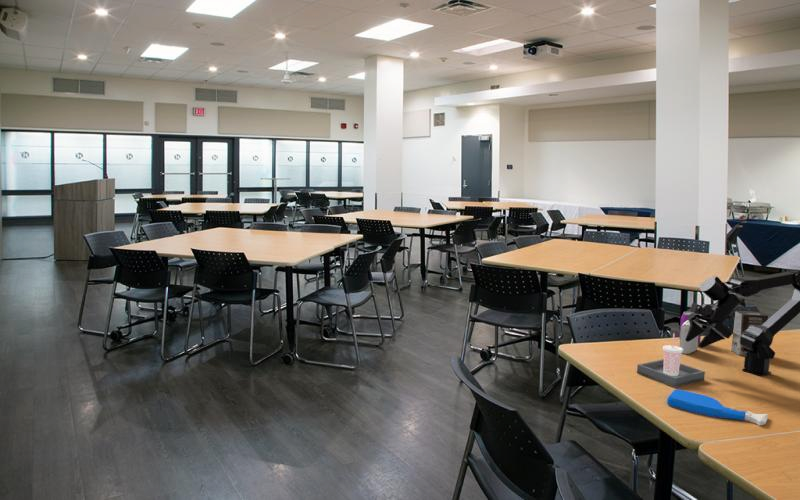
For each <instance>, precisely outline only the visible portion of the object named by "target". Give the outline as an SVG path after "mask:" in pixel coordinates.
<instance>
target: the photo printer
mask: <svg viewBox="0 0 800 500" xmlns="http://www.w3.org/2000/svg"><path fill="white" fill-rule="evenodd" d="M689 329H690V322H689V320H687V321H686V322H684V323H683V325H682V326H681V334H680V333H679V337H680V338H679V346H678V347H681V348H682V349H683V352H682V354H683V355H684V354H685V355H689V354H691V353H694V352H695V351H697V350H698V347H699V343H698V336H697V337H695V338H694V339H692V340H690V341H689V342H687V341H686V340H685V339H686V336H687V334H688V331H689Z"/></svg>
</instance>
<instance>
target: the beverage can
mask: <svg viewBox="0 0 800 500" xmlns="http://www.w3.org/2000/svg"><path fill="white" fill-rule="evenodd" d="M691 313H693V312H690V311H683V313H682V315H681V317H680V325H679V326H680V328H679V335H680V334H681V326H682V325H683V323H684V322H686V321H687V320H689V318H688V316H689V315H690V314H691ZM699 315H701V314H699ZM701 336H702V333H701V334H700V335H698V344H700V342H701ZM679 339H680V336H679Z"/></svg>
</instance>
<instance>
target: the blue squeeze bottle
mask: <svg viewBox="0 0 800 500" xmlns="http://www.w3.org/2000/svg"><path fill="white" fill-rule="evenodd" d="M666 404H667V405H668V406H670V407H673V408H675V409H676V408H677V409H680V410H683V411H686V412H689V413H695V414H699V415H703V416H707V417H714V418H720V419H721V418H722V419H729V420H737V421H746V422H750V423H752V424H756V425H758V427H759V426H764V425H766V424H767V421H768V419H769V414H767V413H764V414H762V413H754V412H751V411H749V410H746V411H745V410H738V409H736V408H735V409H734V408H730V407H726V406H723V404H722V403H721V402H720V401H719V400H718V399H715V398H714V397H711V396H708V395H705V394H701V393H696V392H693V391H689V390H683V389H679V388H678V389H677V388H676V389H674V390H672V392H671V393H670V394H669V395H668V396H667V399H666Z"/></svg>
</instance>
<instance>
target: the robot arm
mask: <svg viewBox="0 0 800 500" xmlns="http://www.w3.org/2000/svg"><path fill="white" fill-rule="evenodd" d="M789 285H791V287H792V288H794V290H793V292H792V293H793V294H792V297H791V299H789V300H788V301H787V302H785V304H783V306H781V307H780V308H779V309H778V310H777V311H776V312H775V313H774V314H772V315H771V316H770V317H768V320H767V321H766V322H765V323H763V324H762V325H761V326H759V327H755V326H752V325H751V326H750V327H749V328H748V329H747V330H746V331H744V332H742V333H743V334H742V336H741V337H740V343H741V345H742V346H743V349H744V351H745V352H748V353H746V356H744V362H743V363H744V364H743V368H742V369H741V370H742V371H744V372H746V373H750V374H753V375H756V376H760V377H762V376H766V375H771V374H772V371H770V362H771V360H772V359H774V358H775V355H776V352H775V351H774V350H773V349H772V347H771V345H772V344H773V341H774V337H775V336H776V335H777V334H778V333H779V332H780V331H781V330H783V328H785V326H787V325H788V324H789V323H790V322H791V321H793V320H794V319H795V318H796V317H797V316H798V315H799V314H800V271H796V270H792V269H791V270H787V271H784V272H778V273H773V274H768V275H762V276H757V277H751V276H750V277H749V276H736V277H735V276H734V277H733V278H731V280H729V281H725V282H724V281H722V280H721V279H720V277H718V276H717V275H712V276H711V277H710V278H708V279H705V280H704V281H702V282H701V283H700V285H699V290H700V291H701V292H702V293H703V294H705V296H707V297H708V298H709V299H711V301H714V302H715V303H714V304H710V305H709V304H706V303H703V304H697V303H695V302H692V303H691V306H690V308H689V312H693V313H691V314H690V315H689V316H688V318H689V322H690V329H689V331H688V334H687V336H686V339H685V340H686V341H687V342H689V341H690V340H692V339H694V338H695V337H697V336H698V335H700V334H701V335H702V334H703V333H704V332H706V334H705V335H704V336H703V338H702V339H701V340H700V342H699V343H698V347H699V348H700V349H703V348H705V347H707V346H710V345H712V344H714V343H717V342H720V341H723V340H726V339H730V338H731V336H733V333H732V332H733V330H731V328H729V327H728V326H727V325H725V324H724V323H725V322H726V321H727V320H731V319H732V317H731V314H733V312H734V311H736V308H738V306H740V307H742V308H746V299H745V298H747V297H748V298H749V297H751V296H755V295H757V294H758V293H760V292H761V291H763V290H769V289H773V288H779V287H784V286H789ZM737 295H740V296H741V297H739V296H737ZM743 297H745V298H743ZM699 314H700V315H699Z"/></svg>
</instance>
